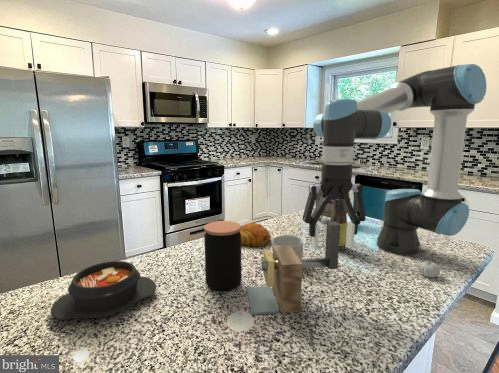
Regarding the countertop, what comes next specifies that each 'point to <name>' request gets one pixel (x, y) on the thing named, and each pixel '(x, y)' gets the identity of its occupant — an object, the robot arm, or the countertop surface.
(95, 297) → the casserole
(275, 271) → the bearing block
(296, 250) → the teacup
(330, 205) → the tabletop clock
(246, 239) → the croissant
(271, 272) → the plate
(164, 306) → the countertop surface
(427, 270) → the garlic
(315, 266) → the shaft
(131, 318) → the countertop surface
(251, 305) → the slate mat
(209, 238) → the coffee jar
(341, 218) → the sauce bottle
